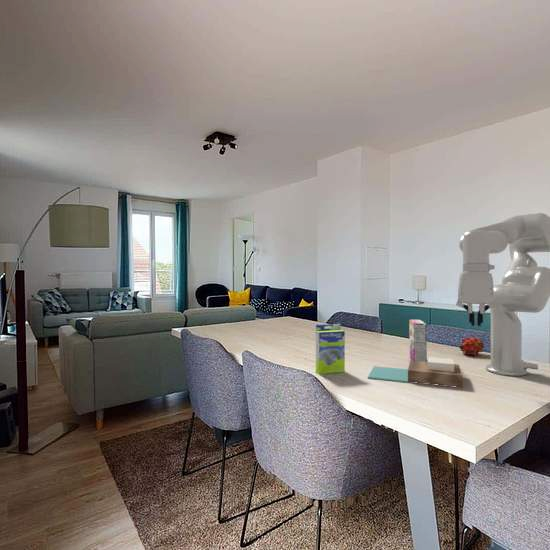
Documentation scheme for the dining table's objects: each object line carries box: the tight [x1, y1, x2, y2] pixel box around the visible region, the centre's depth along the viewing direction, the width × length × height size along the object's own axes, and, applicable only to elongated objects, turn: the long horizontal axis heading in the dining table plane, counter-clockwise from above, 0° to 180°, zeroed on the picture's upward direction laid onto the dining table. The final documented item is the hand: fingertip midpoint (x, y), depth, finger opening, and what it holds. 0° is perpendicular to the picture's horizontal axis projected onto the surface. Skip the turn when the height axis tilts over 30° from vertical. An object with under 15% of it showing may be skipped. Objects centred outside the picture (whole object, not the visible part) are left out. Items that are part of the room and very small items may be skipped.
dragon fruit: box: [459, 335, 485, 357], centre depth 159 cm, size 8×8×12 cm
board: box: [407, 359, 463, 388], centre depth 124 cm, size 16×14×4 cm
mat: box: [367, 365, 409, 383], centre depth 130 cm, size 13×15×1 cm
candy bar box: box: [408, 319, 428, 362], centre depth 147 cm, size 11×5×16 cm, turn 168°
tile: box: [427, 356, 455, 372], centre depth 124 cm, size 8×7×2 cm
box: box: [314, 323, 346, 375], centre depth 134 cm, size 10×4×17 cm, turn 106°
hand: (475, 325), depth 119 cm, fingers closed
